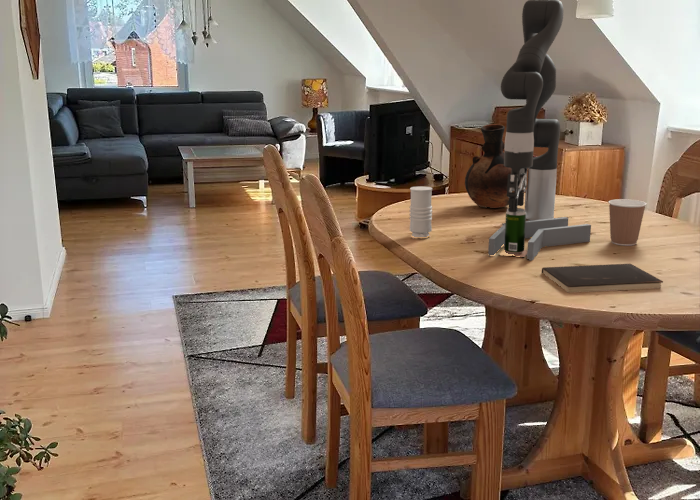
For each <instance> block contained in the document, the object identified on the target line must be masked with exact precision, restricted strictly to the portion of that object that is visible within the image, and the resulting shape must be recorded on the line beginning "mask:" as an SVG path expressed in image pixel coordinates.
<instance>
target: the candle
mask: <svg viewBox="0 0 700 500" xmlns="http://www.w3.org/2000/svg"><path fill="white" fill-rule="evenodd" d="M409 190H410V206H409V217H408V218H409V232H412V233H411V235H412V236H414V237H427V236H429V235H430V233H431V232H432V231H433V229H432V220H433V206H432V191H433V187H431V186H411V187H410V188H409Z"/></svg>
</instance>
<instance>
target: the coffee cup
mask: <svg viewBox="0 0 700 500" xmlns="http://www.w3.org/2000/svg"><path fill="white" fill-rule="evenodd" d="M608 204H609V206H608V209H609V231H610V232H609V233H610V241H611V243H612V244H614V245H617V246H623V247H625V246H627V247H629V246H634V245H636V244H637V242H638V240H639V236H640V232H641V227H642V222H643V218H644V213H645V209H646V207H645V206H647V202H645V201H643V200H642V201H641V200H638V199H628V198H627V199H626V198H623V199H622V198H619V199H618V198H617V199H611V200H608Z"/></svg>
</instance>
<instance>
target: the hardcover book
mask: <svg viewBox="0 0 700 500" xmlns="http://www.w3.org/2000/svg"><path fill="white" fill-rule="evenodd" d="M542 273H544V274H545V275H544V274H543V275H544V276H546V277H547V276H548V277H549V278H548V277H547V278H548V279H549V280H551V281H552V280H553V281H554V282H553V281H552V282H553V283H555V282H556V283H557V284H558V286H559V287H560V286H561V287H562V288H561V287H560V288H561V289H563V290H564V289H565V290H564V291H566V292H567V293H586V292H589V293H590V292H603V291H604V292H606V291H607V292H608V291H628V290H629V291H631V290H650V289H661V287H662V283H664V280H662V279H660V278H657V277H656V276H654V275H652V274H651V273H648V272H646V271H644V269H641V268H640V267H638V266H636V265H634V264H632V263H613V264H612V263H611V264H609V263H607V264H591V265H589V264H587V265H570V266H569V265H567V266H552V267H551V266H546V267H542V268H541V274H542ZM556 283H555V284H556ZM557 284H556V285H557Z"/></svg>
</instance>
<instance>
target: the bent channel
mask: <svg viewBox="0 0 700 500" xmlns="http://www.w3.org/2000/svg"><path fill="white" fill-rule="evenodd" d="M501 224H502V225H501V227H499V228H498V229H497V230H496V231H495V232H494V233H493V234H491V236H490V237H488V249H487V251H488V253H487V254H489V255H494V254H495V253H496V252H497V251H498V250H499V249H500V248H501V246H502V245H503V244H504V243H505V222H504V223H501ZM591 229H592V225H591V224H589V223H584V224H576V225H575V224H574V225H569V217H566V216H564V217H563V216H561V217H555V218H551V219H541V220H526V225H525V238H526V239H529V240H528V241H527V249H526V250H527V255H526V260H527V259H529V260H528V261H532V260H533V261H534V259H535V258H536V257H537V255H538V254H539V253H538V252H540V251H541V250H542V249H543V248H546V247H545V246H547V247H554V246H555V247H556V246H563V245H572V244H580V243H581V244H582V243H588V242H591V234H592V233H591V232H592V230H591ZM530 237H532V238H530ZM541 248H542V249H541ZM501 249H502V248H501ZM501 249H500V250H501ZM540 249H541V250H540ZM535 256H536V257H535ZM534 257H535V258H534Z"/></svg>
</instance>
